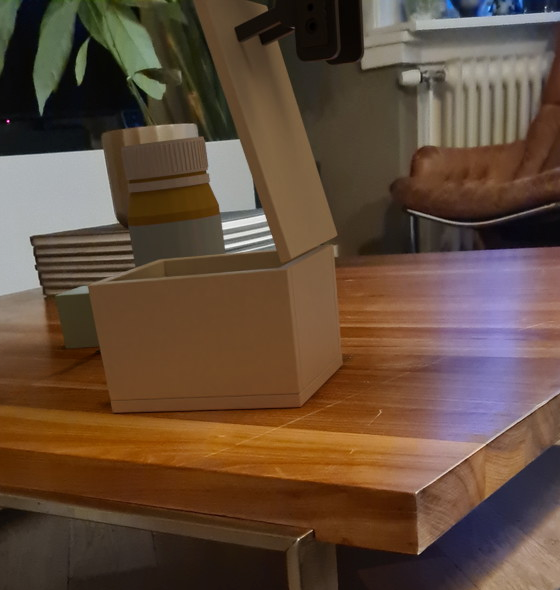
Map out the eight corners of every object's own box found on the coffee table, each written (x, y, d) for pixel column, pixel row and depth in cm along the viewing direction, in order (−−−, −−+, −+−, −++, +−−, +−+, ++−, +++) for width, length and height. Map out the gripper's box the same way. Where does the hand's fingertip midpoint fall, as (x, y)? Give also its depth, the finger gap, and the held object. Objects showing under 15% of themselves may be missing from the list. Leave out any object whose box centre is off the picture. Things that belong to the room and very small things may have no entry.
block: (66, 353, 79) (54, 295, 77) (92, 341, 83) (81, 286, 81) (116, 351, 77) (105, 291, 75) (140, 338, 81) (130, 282, 79)
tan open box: (112, 413, 58) (86, 285, 55) (176, 372, 67) (158, 259, 64) (300, 407, 54) (287, 268, 51) (343, 364, 63) (333, 244, 60)
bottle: (253, 345, 73) (227, 133, 66) (176, 364, 69) (140, 143, 63) (210, 337, 78) (181, 140, 71) (136, 355, 75) (99, 149, 68)
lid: (189, -7, 46) (277, -54, 44) (256, 10, 55) (331, -28, 53) (280, 263, 51) (362, 232, 49) (328, 239, 60) (399, 212, 58)
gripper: (275, -292, 49) (302, 74, 57) (170, -417, 37) (223, 67, 45) (414, -328, 47) (422, 58, 55) (349, -474, 35) (372, 46, 43)
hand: (332, 60), depth 50 cm, fingers closed on lid, 5 cm apart
